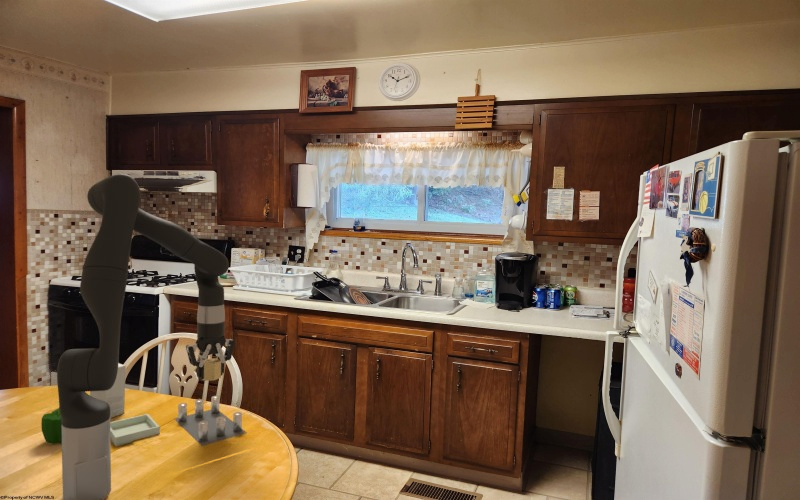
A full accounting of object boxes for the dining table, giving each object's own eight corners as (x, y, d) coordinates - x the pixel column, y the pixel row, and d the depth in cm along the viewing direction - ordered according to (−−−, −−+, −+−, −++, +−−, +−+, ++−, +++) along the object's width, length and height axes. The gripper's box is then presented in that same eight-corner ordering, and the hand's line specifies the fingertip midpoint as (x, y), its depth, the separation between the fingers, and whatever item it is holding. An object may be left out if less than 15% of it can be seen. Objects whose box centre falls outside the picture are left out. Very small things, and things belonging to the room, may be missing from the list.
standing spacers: (243, 430, 146) (243, 414, 146) (200, 442, 138) (200, 425, 137) (217, 410, 160) (217, 395, 159) (177, 420, 151) (177, 404, 151)
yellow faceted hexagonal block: (222, 378, 147) (223, 361, 146) (205, 382, 143) (206, 364, 143) (215, 373, 151) (215, 357, 151) (198, 376, 148) (198, 360, 147)
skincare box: (89, 414, 154) (88, 364, 153) (110, 407, 160) (109, 359, 159) (105, 420, 151) (105, 369, 149) (126, 412, 156) (126, 364, 155)
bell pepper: (60, 449, 132) (59, 412, 131) (34, 445, 134) (33, 409, 133) (86, 435, 140) (85, 401, 140) (61, 432, 142) (61, 397, 141)
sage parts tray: (159, 435, 143) (159, 426, 142) (115, 446, 135) (115, 437, 135) (147, 421, 151) (147, 413, 151) (105, 431, 143) (105, 423, 143)
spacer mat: (246, 434, 145) (246, 432, 145) (201, 447, 136) (201, 445, 136) (216, 409, 161) (216, 408, 161) (173, 420, 152) (173, 418, 152)
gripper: (190, 325, 138) (190, 385, 140) (240, 319, 148) (239, 375, 149) (181, 320, 144) (181, 378, 145) (229, 314, 154) (229, 369, 155)
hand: (210, 376), depth 147 cm, fingers closed on yellow faceted hexagonal block, 5 cm apart
